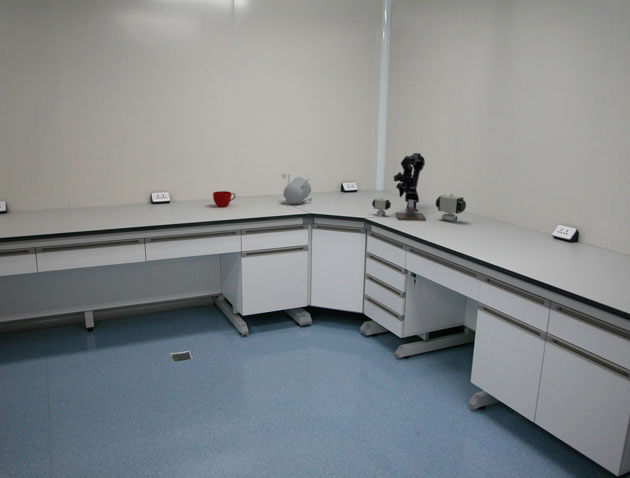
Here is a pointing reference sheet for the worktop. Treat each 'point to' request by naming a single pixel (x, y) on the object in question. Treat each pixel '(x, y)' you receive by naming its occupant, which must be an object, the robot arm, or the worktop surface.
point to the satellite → (297, 190)
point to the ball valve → (450, 206)
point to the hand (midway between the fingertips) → (403, 195)
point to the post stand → (410, 215)
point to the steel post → (411, 204)
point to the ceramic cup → (222, 198)
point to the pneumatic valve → (381, 206)
